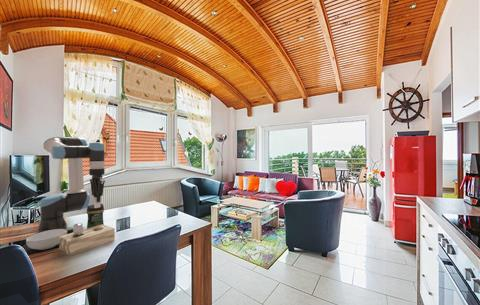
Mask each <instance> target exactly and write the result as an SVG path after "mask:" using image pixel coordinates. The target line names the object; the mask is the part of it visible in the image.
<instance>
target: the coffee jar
mask: <svg viewBox="0 0 480 305" xmlns="http://www.w3.org/2000/svg"><path fill="white" fill-rule="evenodd" d="M104 211H105V207H104V204H103V203H100V207H99V208H94V204H89V205H88V207H87V208H86V214H87V225H86V229H88V228H91V227H94V226H98V225H101V224H103V225H105V224H104V213H105V212H104Z"/></svg>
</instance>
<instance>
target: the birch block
mask: <svg viewBox="0 0 480 305" xmlns="http://www.w3.org/2000/svg"><path fill="white" fill-rule="evenodd" d="M98 227H102V230H98V231H94V229H95V228H98ZM115 231H116V230H115V227H112V226H108V225H106V224H104V225H103V224H101V225H98V226H94V227H91V228H88V229H87V228H85V229H83V235H82V236H79V237H76V238H75V237H73V232H70V233H67V235H63V236H60V237H59V244H58V247H59V248H58V249H59V251H61V252H63V253H65V254H67V255H69V256H73V255H76V254H79V253H83V252H84V251H88V250H91V249H93V248H95V247H98V246H101V245H103V244H106V243H109V242H112V241H115V238H116V237H115Z"/></svg>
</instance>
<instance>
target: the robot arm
mask: <svg viewBox="0 0 480 305" xmlns="http://www.w3.org/2000/svg"><path fill="white" fill-rule="evenodd" d="M43 149H44V150H45V151H46V152H48V153H50V154H51V157H52V159H54V160H57V159H58V160H65V159H66V160H67V166H68V167H67V168H68V169H67V170H68V188H69V189H68V191H67V192H66V195H64V194H62V193H61V194H60V193H59V194H53V195H50V196H46V197H43V198H41V200H40V203H39V204H40V205H39V207H40V221H39V224H38V226H37V229H36V234H37V233H40V232H44V231H48V230H54V229H65V230H67V227H68V226H67V225H68V224H67V222H66V220H65V218H64V217H65V216H64V214H65V213H70V212H77V211H81V210H87V207H88V205H90V201H91V195H92V196H93V205H94V208H99V207H100V204H101V197H102V196H103V195H104V189H105V188H104V186H105V182H106V181H105V180H106V179H104V180H103V175H105V166H106V165H105V143H103V142H89V144H88V142H87V140H86V139H85V138H84V137H77V136H74V137H73V136H56V137H55V136H54V137H50V138H47V139H46V140H45V141H44V142H43ZM84 159H89V160H88V162H89V163H88V165H89V171H88V173H89V174H88V175H89V176H91V178H90V179H89V182H90V188H91V189H90V190H91V195H90V193H89V192H88V191H87V189H85V182H84V180H85V179H84V163H83V162H84V161H83V160H84Z"/></svg>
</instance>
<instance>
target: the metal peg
mask: <svg viewBox="0 0 480 305" xmlns="http://www.w3.org/2000/svg"><path fill="white" fill-rule="evenodd" d="M72 229H73V232H72V233H73V237H75V238H76V237H79V236H82V235H83V230H84V229H83V223H81V222H79V223H74V224H73V228H72Z"/></svg>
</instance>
